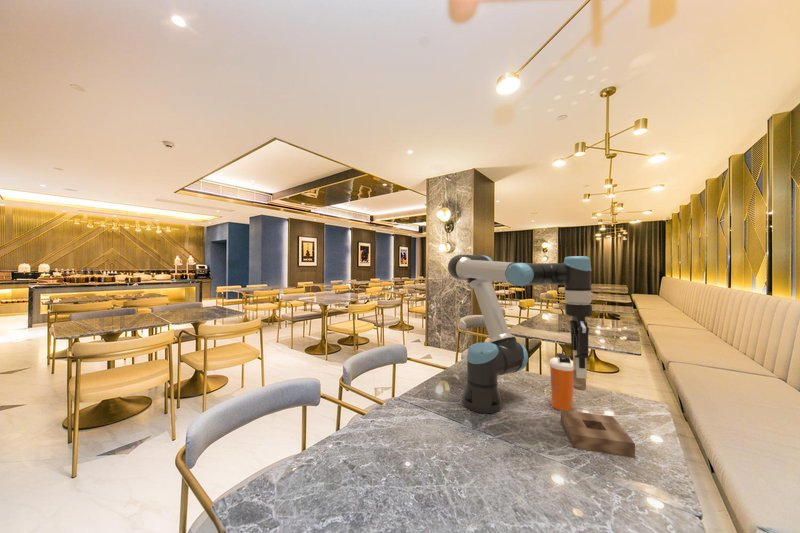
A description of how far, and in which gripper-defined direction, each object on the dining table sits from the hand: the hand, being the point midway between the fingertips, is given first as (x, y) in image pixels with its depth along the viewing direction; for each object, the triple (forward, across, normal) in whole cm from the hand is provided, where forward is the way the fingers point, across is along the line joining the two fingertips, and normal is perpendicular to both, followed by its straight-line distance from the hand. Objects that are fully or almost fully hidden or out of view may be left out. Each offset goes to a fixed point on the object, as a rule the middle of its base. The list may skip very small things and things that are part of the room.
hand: (580, 375), depth 97 cm
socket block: (+20, +1, -4) cm, 20 cm away
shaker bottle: (+19, +21, +2) cm, 28 cm away
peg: (+4, 0, 0) cm, 4 cm away
